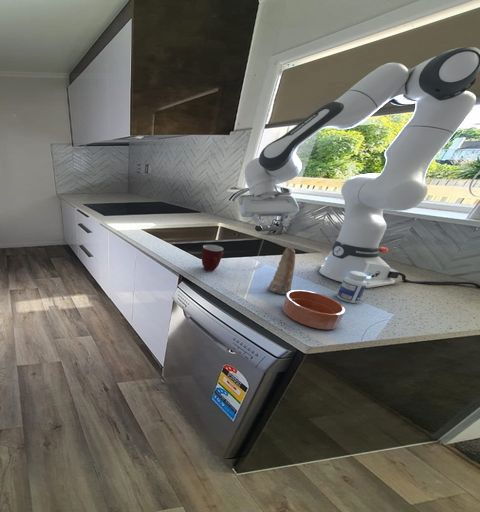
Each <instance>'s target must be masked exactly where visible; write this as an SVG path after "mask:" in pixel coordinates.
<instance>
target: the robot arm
mask: <svg viewBox="0 0 480 512" xmlns="http://www.w3.org/2000/svg"><path fill="white" fill-rule="evenodd" d="M479 73H480V49H479V48H478V47H475V46H462V47H456V48H452V49H449V50H446V51H444V52H442V53H440V54H438V55H435V56H434V57H431V58H428V59H427V60H424V61H422V62H420V63H419V64H417V65H415V66H413V67H412V68H411V67H406V66H405V65H404V64H403V63H399V62H387V63H385V64H382V65H380V66H378V67H377V68H375V69H374V70H372V71H371V72H369V73H368V74H367V75H365V76H364V77H363V78H362V79H360V80H359V81H357V82H356V83H355V84H353V86H351V87H350V88H349V89H348V90H347V91H346V92H344V93H343V94H342V95H341V96H340V97H338V98H337V99H335V100H334V101H331V102H328V103H326V104H324V105H322V106H321V107H319V108H317V109H316V110H315V111H313V112H312V113H311V114H309V115H308V116H307V117H305V118H304V119H303V120H301V121H300V122H299V123H297V124H296V125H295V126H294V127H292V128H290V130H289V131H287V132H286V133H284V135H283V134H282V136H280V137H279V138H277V139H275V140H274V141H271V142H270V143H268V144H267V145H266V146H264V148H263V149H262V150H261V152H260V154H259V156H258V157H256V158H253V159H251V160H250V161H249V162H248V163H247V164H246V165H245V168H244V178H245V182H246V183H245V184H246V185H247V187H248V193H249V194H242V195H239V196H238V197H237V202H238V204H239V213H240V216H241V217H243V218H251V220H252V221H253V222H255V223H256V226H257V227H262V226H264V224H265V223H264V220H263V219H261V218H264V217H267V218H269V217H271V218H272V217H273V218H274V217H282V219H283V220H282V221H281V224H282V226H285V227H287V226H289V225H290V223H291V221H290V218H291V217H293V216H295V215H296V214H297V213H298V212H299V211H300V207H299V204H298V202H297V199H296V198H295V197H294V195H292V193H293V191H292V189H291V188H288V187H283V186H280V185H279V184H283V183H287V182H289V181H291V180H293V179H294V178H296V177H297V176H298V175H299V174H300V173H301V171H302V168H303V163H302V161H301V160H300V158H299V156H298V154H297V153H296V151H297V149H298V148H299V146H301V145H302V144H303V143H304V142H306V141H307V140H309V139H311V137H313V136H314V135H316V134H317V133H318V132H319V131H321V130H323V129H325V128H333V129H335V130H348V129H353V128H356V127H357V126H358V125H360V124H361V123H363V122H365V121H366V120H367V119H369V118H370V117H371V116H373V115H374V114H375V113H376V112H378V110H379V109H381V108H383V106H385V104H387V103H390V104H391V105H394V106H399V107H405V106H411V105H415V108H414V112H413V114H412V115H411V118H410V119H409V120H408V121H407V122H406V123H405V125H404V126H403V128H401V130H400V131H399V133H398V134H397V135H396V136H395V137H394V139H393V140H392V141H391V143H390V144H389V145H388V147H387V148H386V150H385V151H384V158H385V164H384V167H383V168H382V170H381V172H380V173H364V174H363V173H362V174H357V175H354V176H351V177H350V178H348V179H347V180H346V181H345V182H343V184H342V186H341V189H340V193H341V195H342V197H343V201H344V216H343V222H342V225H341V228H340V230H339V233H338V236H337V239H335V240H334V242H333V245H332V247H331V249H332V250H330V252H329V253H328V255H327V257H325V261H324V262H323V264H321V265H320V269H319V270H318V271H319V273H320V274H321V275H322V276H324V277H326V278H328V279H331V280H334V281H336V282H340V283H342V282H343V279H344V278H345V277H348V276H349V273H350V271H358V272H362V273H365V274H366V275H367V278H366V279H365V281H366V282H367V285H366V287H365V289H370V288H375V287H383V286H390V285H395V284H396V280H395V279H398V277H399V276H401V281H402V282H405V283H411V284H420V285H421V284H430V285H444V284H449V285H450V284H451V285H472V286H474V287H476V288H477V289H480V283H477V282H474V281H453V280H439V281H438V280H417V281H416V280H409V279H407V276H406V274H405V273H402V272H401V271H398V270H397V269H395V268H393V267H390V265H389V264H388V263H387V262H386V261H385V260H383V258H381V257H380V253H382V254H387V253H388V252H389V248H388V247H384V246H379V245H380V243H381V241H382V239H383V238H384V235H385V232H386V230H387V227H388V226H387V222H386V221H385V219H384V214H383V213H384V211H389V212H390V211H391V212H393V211H395V212H396V211H400V212H402V211H407V210H410V209H413V208H415V207H417V206H418V205H420V204H421V203H422V202H423V201H424V200H425V198H426V197H427V195H428V186H427V184H426V175H427V173H428V170H429V167H430V165H432V164H431V163H432V162H433V160H434V159H435V158H436V156H437V155H439V153H440V152H441V151H442V149H443V148H445V146H446V144H447V143H449V141H450V140H451V138H453V136H454V135H455V134H456V132H457V131H458V130H459V129H460V127H461V126H462V124H464V123H465V121H466V119H467V118H468V117H469V115H470V113H471V112H472V110H473V108H474V107H475V104H476V102H477V96H476V95H475V94H474V92H472V91H470V90H469V89H470V88H471V87H473V86H474V84H476V82H477V76H478V74H479Z"/></svg>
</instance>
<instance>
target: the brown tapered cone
mask: <svg viewBox="0 0 480 512" xmlns="http://www.w3.org/2000/svg"><path fill="white" fill-rule="evenodd" d="M295 265H296V251H295V249H294V248H293V247H292V246H291V245H289V246H287V247H286V248H285V249H284V251H283V253H282V255H281V257H280V260H279V262H278V267H277V268H276V271H275V273H274V276H273V279H272V280H271V282H270V283H269V286H268V289H269V291H271V292H272V293H274V294H278V295H285V296H286V294H287V293H288V292H289V291H292V284H293V278H294V271H295Z"/></svg>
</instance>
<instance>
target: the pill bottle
mask: <svg viewBox="0 0 480 512" xmlns="http://www.w3.org/2000/svg"><path fill="white" fill-rule="evenodd" d="M366 278H367V275H366V274H365V273H362V272H358V271H350V273H349V276H348V277H345V278H344V279H343V282H341V284H340V287H339V290H338V292H337V295H336V297H337V298H338V299H339V300H341V301H343V302H346V303H351V304H357V303H359V302H360V300H361V298H362V296H363V293H364V291H365V289H366V288H365V287H366V285H367V282H366V281H365V279H366Z"/></svg>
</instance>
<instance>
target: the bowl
mask: <svg viewBox="0 0 480 512" xmlns="http://www.w3.org/2000/svg"><path fill="white" fill-rule="evenodd" d="M281 308H282V312H283V313H284V314H285V315H286V316H287V317H288V318H290V319H292V320H293V321H295V322H297V323H299V324H301V325H303V326H307V327H309V328H313V329H318V330H335V329H337V328H338V327H339V325H340V323H341V321H342V319H343V317H344V314H345V313H346V309H345V307H344V305H342V304H341V303H340V302H339V301H337V300H335V299H333V298H331V297H329V296H328V295H324V294H321V293H319V292H315V291H310V290H302V289H291V291H289V292H288V293H287V294H285V297H284V299H283V303H282V305H281Z"/></svg>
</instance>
